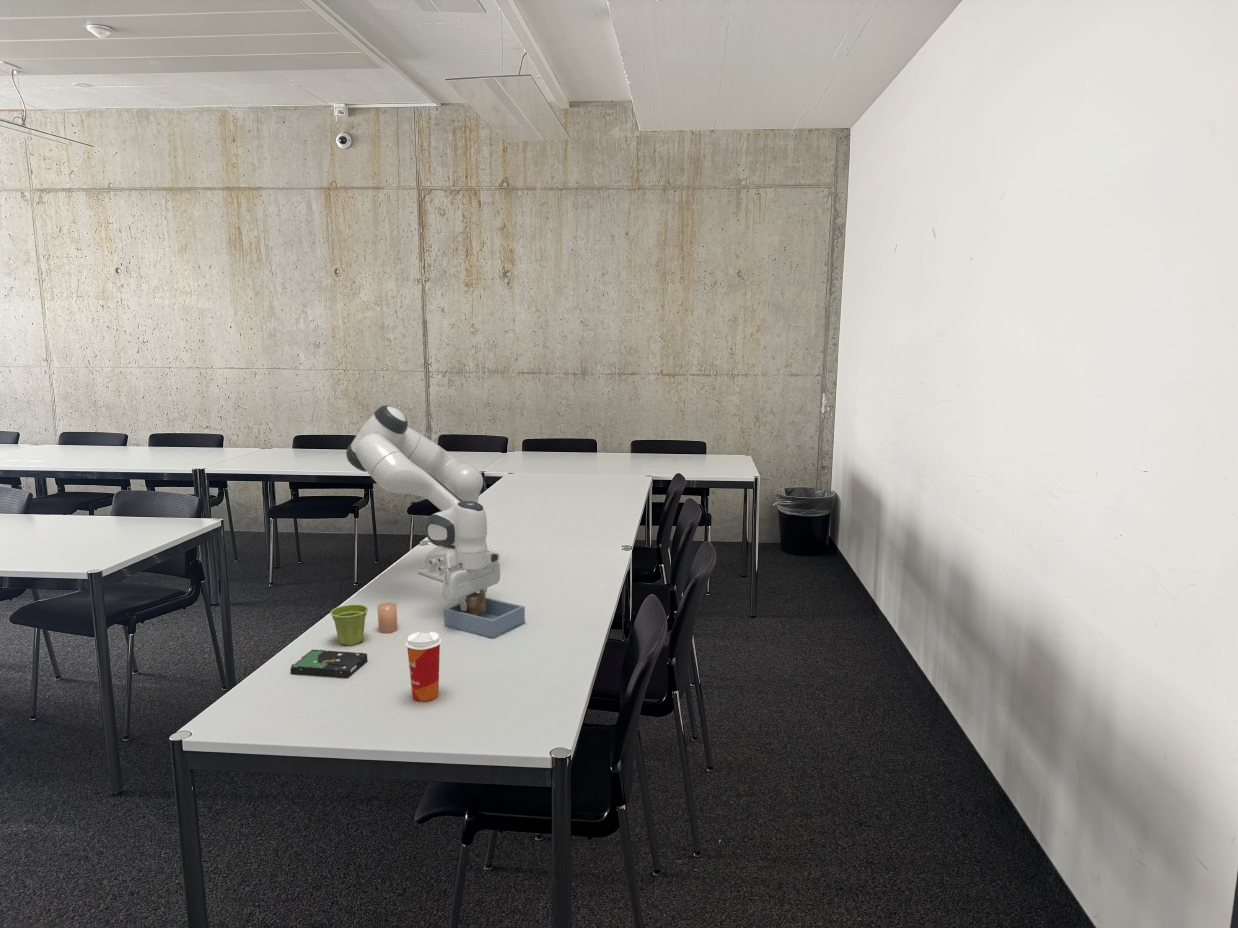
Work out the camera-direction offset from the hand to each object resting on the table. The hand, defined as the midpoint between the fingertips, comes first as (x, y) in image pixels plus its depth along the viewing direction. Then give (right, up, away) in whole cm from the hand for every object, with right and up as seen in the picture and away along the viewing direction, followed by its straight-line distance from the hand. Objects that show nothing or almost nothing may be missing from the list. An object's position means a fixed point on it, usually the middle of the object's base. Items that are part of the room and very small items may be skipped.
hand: (472, 606), depth 220 cm
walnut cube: (0, -2, 0) cm, 2 cm away
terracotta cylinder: (-22, -5, -5) cm, 24 cm away
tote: (+4, -5, -1) cm, 6 cm away
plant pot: (-30, -7, -14) cm, 33 cm away
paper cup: (-2, -12, -45) cm, 47 cm away
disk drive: (-29, -10, -30) cm, 43 cm away
